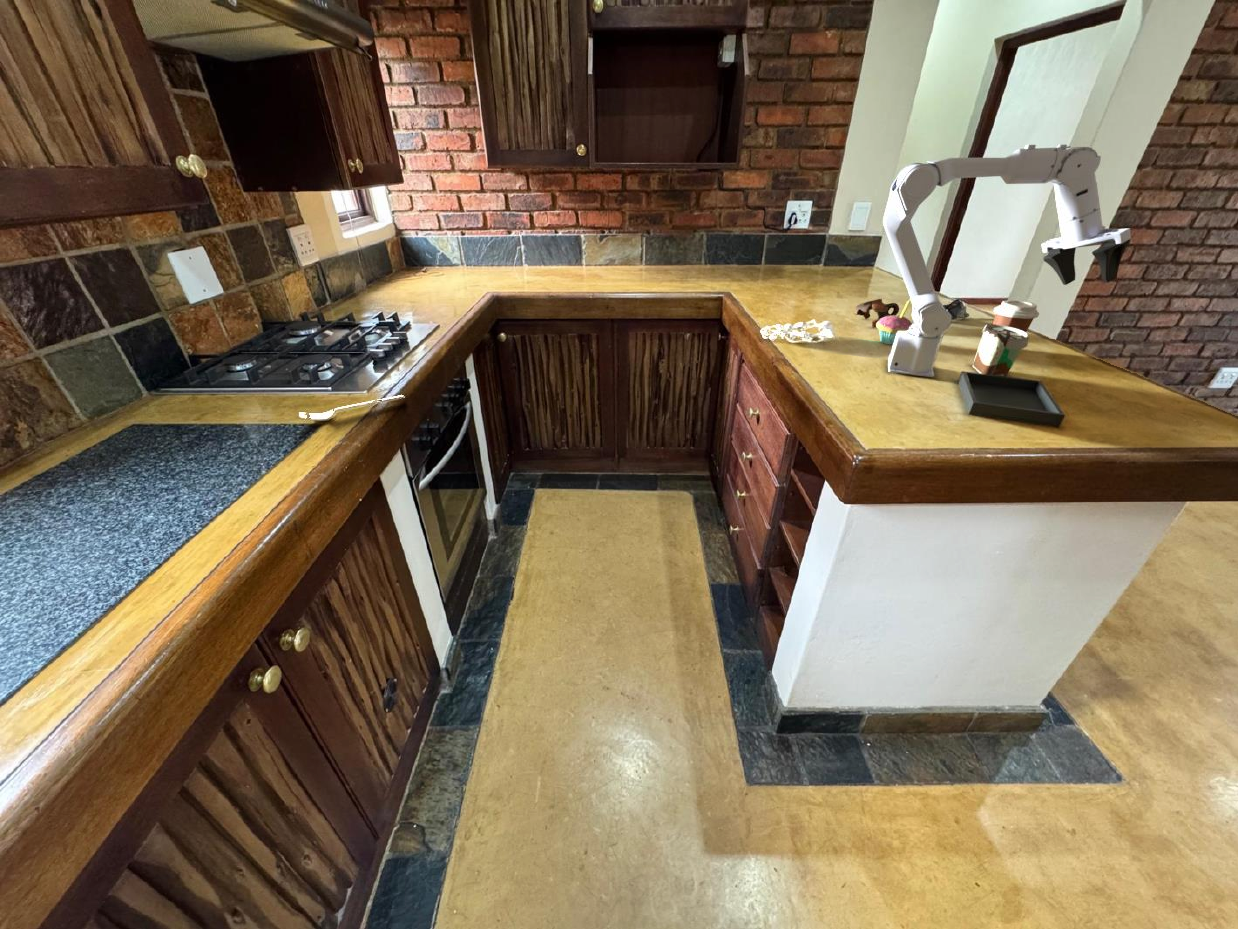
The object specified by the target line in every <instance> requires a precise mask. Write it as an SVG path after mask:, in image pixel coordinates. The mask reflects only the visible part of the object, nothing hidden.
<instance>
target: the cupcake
mask: <svg viewBox="0 0 1238 929" xmlns="http://www.w3.org/2000/svg"><path fill="white" fill-rule="evenodd" d="M910 304H911V299H910V298H909V300H907V301H906V304H905V306H904V308H903V309H902V312H901V314H900V315H899V314H897V315H896V316H895V315H893V316H892V315H891V316H885V317H883V318H881V319H880V320H878V322H877V324H876V328H877V330H878V331H879V341H880V343H882V344H885V345H892V346H893V344H894V340H895V337H896V334H897V332H898V331H908V329H909V327H910V326H911V325H912V324H913V323H912V322H911V321H910V319H909V318H906V317H905V314H906V312H907V310H908V308H909V306H910Z"/></svg>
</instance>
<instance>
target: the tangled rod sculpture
mask: <svg viewBox="0 0 1238 929" xmlns="http://www.w3.org/2000/svg"><path fill="white" fill-rule="evenodd" d="M834 327H835V326H834V324H833V322H832V321H829V320H825V321H822V322H821V323H817V321H816V319H815V318H814V319H812V320H810V321H806V322H804V321H800V322H797V323H795V324H792V323H786V324H784V325H782V324H781V323H778V324H776V325H770V326H769V325H766V326H765V327H763V328H761V329H760V333H761V336H762V338H763V339H766V340H770V341H771V342H773V341H775V340H776V339H782V340H783V341H788V342H790V343H794V344H797V343H811V344H817V343H820V342H829V341H833V340H835V339H836V333H835V332H834ZM772 328H775V329H772ZM811 328H818V331H819V332H818V333H813V334H812V333H811V334H810V333H809V332H808V331H806V330H807V329H808V330H809V329H811ZM797 338H798V340H795V339H797ZM815 338H818V340H813V339H815Z"/></svg>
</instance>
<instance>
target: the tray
mask: <svg viewBox="0 0 1238 929" xmlns="http://www.w3.org/2000/svg"><path fill="white" fill-rule="evenodd" d="M957 380H958V381H957V384H958V387H959V389H960V392H961V396H962V399H963V402H964V406H965V408H966V411H967V414H968V415H970V416H977V417H983V418H991V419H997V420H1005V421H1011V422H1018V423H1024V424H1030V425H1031V424H1032V425H1037V426H1046V427H1052V428H1058V429H1059V428H1060V427H1061V425H1062V423H1063V421H1064V419H1065V417H1066V414H1065V413H1064V412H1063V410H1062V409H1061V407H1060V406H1059V404H1058V403H1057V401H1056V400H1055V398H1054V397H1053V395H1052V394H1051V393H1050V391H1049V390H1048V388H1047V386H1046V385H1045V383H1044V382H1043V381H1042V380H1039V379H1030V378H1021V377H1014V376H998V375H990V374H981V373H979V372H973V371H961V373H960V375H959V378H958V379H957Z"/></svg>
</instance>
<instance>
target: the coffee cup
mask: <svg viewBox="0 0 1238 929" xmlns="http://www.w3.org/2000/svg"><path fill="white" fill-rule="evenodd" d="M1037 308H1038V305H1037V304H1036V303H1034V302H1030V301H1026V300H1020V299H1019V300H1018V299H1006V300H1003V301H1002V302H1001V304H999V305H997V306H996V307H994V309H993V313H994V314H995V315H994V318H993V322H992V324H996V325H1003V326H1008V327H1012V328H1016V329H1019V330H1022V331H1024V332H1026V333H1027V332H1028V329H1029V328H1030V327H1031V324H1032V323H1033V321H1034V319H1036V318H1038V317H1039V315H1040V312H1039V311H1038V309H1037Z"/></svg>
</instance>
